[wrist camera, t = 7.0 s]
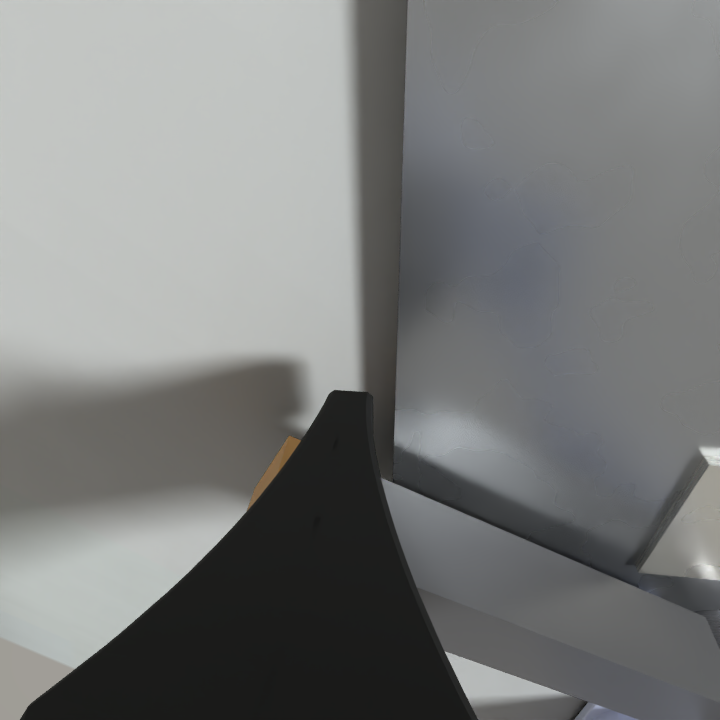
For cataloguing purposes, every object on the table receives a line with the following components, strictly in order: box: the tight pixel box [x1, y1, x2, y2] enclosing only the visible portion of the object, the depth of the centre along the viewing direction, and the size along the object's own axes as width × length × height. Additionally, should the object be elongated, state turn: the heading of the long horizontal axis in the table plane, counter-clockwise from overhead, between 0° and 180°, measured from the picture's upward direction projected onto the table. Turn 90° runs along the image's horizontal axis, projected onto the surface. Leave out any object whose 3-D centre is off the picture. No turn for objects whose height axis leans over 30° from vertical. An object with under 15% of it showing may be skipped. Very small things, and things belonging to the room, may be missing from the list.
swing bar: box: [247, 436, 720, 720], centre depth 13 cm, size 14×3×3 cm, turn 63°
